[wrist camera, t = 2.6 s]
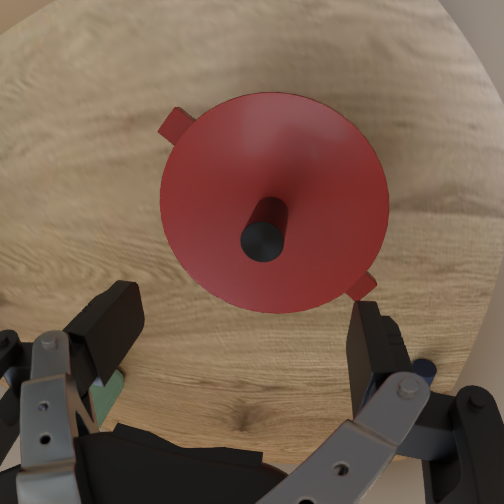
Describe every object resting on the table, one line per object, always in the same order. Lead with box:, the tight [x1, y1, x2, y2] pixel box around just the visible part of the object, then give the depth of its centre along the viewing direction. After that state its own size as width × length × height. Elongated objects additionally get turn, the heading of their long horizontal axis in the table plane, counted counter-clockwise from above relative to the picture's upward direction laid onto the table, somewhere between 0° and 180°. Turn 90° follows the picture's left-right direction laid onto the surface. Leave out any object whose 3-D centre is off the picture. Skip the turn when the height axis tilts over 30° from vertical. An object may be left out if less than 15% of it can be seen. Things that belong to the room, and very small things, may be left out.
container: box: [89, 369, 124, 428], centre depth 35 cm, size 6×6×25 cm
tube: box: [412, 359, 437, 387], centre depth 37 cm, size 10×4×4 cm, turn 0°
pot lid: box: [160, 92, 389, 314], centre depth 21 cm, size 17×17×7 cm
